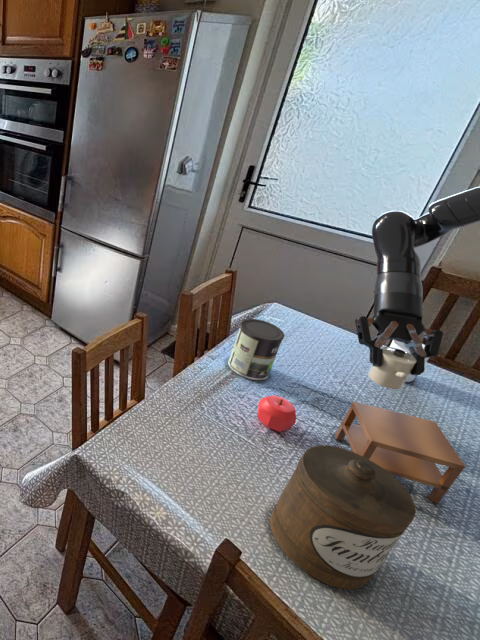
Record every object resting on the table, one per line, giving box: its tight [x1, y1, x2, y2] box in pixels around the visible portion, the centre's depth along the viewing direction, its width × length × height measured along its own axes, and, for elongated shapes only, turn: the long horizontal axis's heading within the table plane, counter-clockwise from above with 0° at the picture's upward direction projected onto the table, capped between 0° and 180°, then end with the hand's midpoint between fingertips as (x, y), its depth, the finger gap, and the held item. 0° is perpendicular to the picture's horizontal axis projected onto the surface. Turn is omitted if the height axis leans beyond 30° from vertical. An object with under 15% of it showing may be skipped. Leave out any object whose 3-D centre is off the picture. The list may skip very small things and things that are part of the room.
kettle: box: [367, 346, 417, 390], centre depth 88 cm, size 8×6×8 cm
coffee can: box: [227, 318, 285, 381], centre depth 118 cm, size 10×10×14 cm
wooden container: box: [269, 444, 416, 590], centre depth 72 cm, size 15×15×22 cm
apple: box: [257, 394, 297, 433], centre depth 101 cm, size 8×8×8 cm
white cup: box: [389, 340, 430, 383], centre depth 115 cm, size 8×8×10 cm
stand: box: [334, 400, 466, 504], centre depth 89 cm, size 14×12×11 cm
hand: (396, 370), depth 88 cm, fingers closed on kettle, 5 cm apart
